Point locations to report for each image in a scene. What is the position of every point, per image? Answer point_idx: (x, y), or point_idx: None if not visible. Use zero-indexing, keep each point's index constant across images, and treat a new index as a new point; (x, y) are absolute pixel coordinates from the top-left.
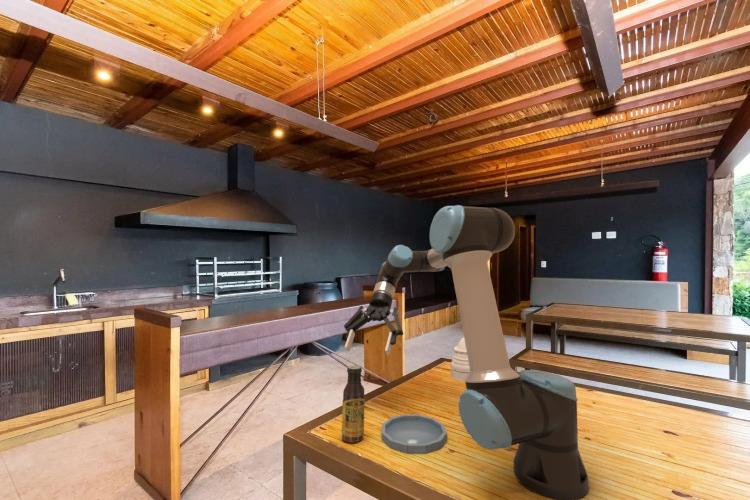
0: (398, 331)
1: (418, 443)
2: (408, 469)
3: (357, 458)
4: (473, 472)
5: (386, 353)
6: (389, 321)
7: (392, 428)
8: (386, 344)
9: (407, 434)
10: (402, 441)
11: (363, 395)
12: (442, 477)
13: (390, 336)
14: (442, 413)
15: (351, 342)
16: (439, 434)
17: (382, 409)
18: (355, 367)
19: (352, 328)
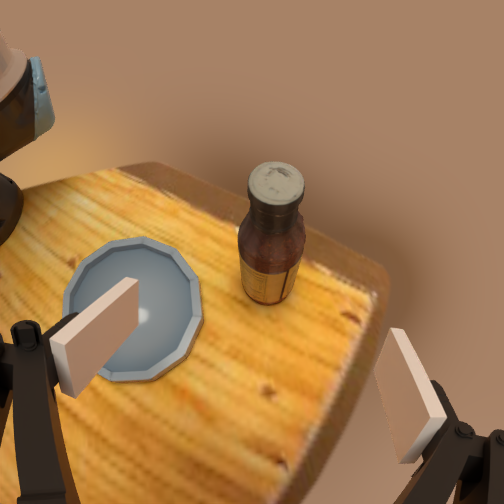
0: (6, 349)
1: (123, 266)
2: (150, 203)
3: (240, 218)
4: (62, 212)
5: (137, 309)
6: (18, 432)
7: (177, 323)
8: (119, 296)
9: (142, 299)
10: (154, 269)
11: (239, 230)
12: (105, 194)
13: (73, 320)
14: (62, 423)
15: (388, 398)
16: (78, 305)
17: (219, 448)
18: (270, 174)
19: (440, 440)
